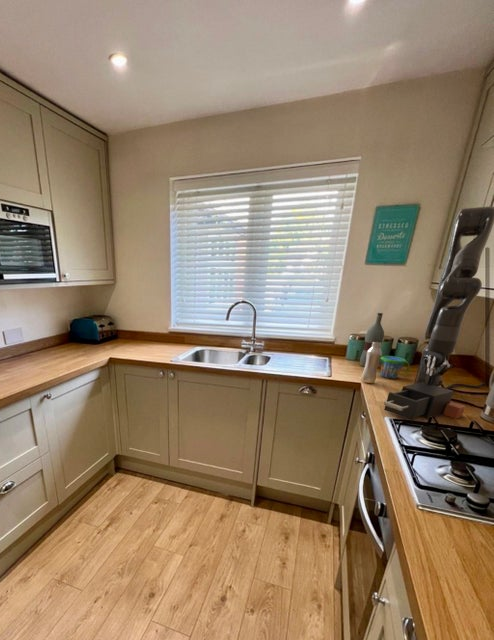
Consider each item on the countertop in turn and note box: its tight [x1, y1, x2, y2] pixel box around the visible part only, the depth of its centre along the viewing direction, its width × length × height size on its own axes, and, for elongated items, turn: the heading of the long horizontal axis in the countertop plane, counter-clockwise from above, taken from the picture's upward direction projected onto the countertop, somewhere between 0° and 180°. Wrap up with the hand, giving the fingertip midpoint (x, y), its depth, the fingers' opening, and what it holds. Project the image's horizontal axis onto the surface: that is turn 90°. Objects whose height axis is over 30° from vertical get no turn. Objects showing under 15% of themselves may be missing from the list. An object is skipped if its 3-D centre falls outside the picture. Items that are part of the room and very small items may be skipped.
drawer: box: [383, 390, 432, 421], centre depth 125 cm, size 18×10×7 cm, turn 118°
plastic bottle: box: [360, 342, 383, 384], centre depth 160 cm, size 6×7×20 cm
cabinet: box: [401, 382, 454, 419], centre depth 131 cm, size 14×12×9 cm
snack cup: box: [379, 355, 410, 380], centre depth 171 cm, size 16×10×10 cm
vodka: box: [359, 312, 385, 368], centre depth 188 cm, size 9×9×30 cm
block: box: [442, 402, 466, 420], centre depth 127 cm, size 4×4×4 cm
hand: (428, 384), depth 122 cm, fingers closed
